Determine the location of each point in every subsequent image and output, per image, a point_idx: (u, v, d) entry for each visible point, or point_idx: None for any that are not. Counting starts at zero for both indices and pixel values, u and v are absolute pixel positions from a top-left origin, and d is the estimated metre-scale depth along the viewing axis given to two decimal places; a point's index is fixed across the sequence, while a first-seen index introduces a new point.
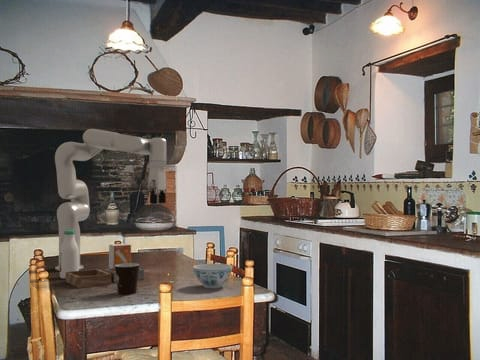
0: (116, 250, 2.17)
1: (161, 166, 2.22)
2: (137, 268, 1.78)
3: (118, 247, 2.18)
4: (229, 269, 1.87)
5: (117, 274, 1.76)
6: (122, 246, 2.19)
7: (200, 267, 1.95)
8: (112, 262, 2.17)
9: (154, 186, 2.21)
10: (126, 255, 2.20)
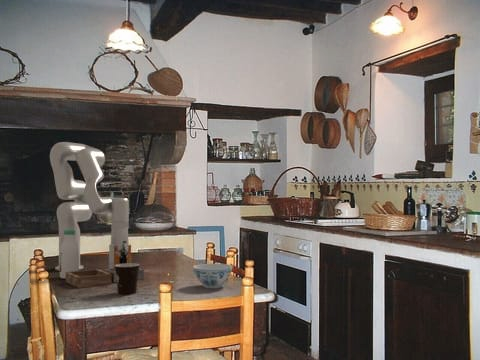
0: (116, 250, 2.17)
1: (128, 226, 2.21)
2: (137, 268, 1.78)
3: None
4: (229, 269, 1.87)
5: (117, 274, 1.76)
6: None
7: (200, 267, 1.95)
8: (112, 262, 2.17)
9: (122, 247, 2.18)
10: None
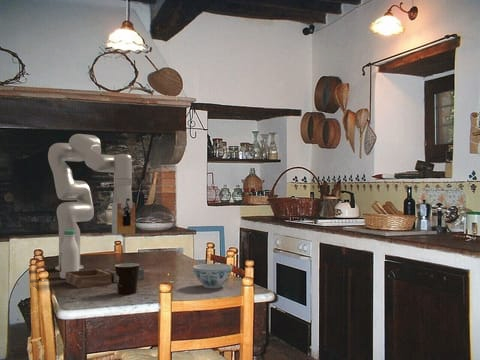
0: (119, 208, 2.08)
1: (131, 184, 2.12)
2: (137, 268, 1.78)
3: None
4: (229, 269, 1.87)
5: (117, 274, 1.76)
6: None
7: (200, 267, 1.95)
8: (116, 221, 2.08)
9: (125, 205, 2.09)
10: None
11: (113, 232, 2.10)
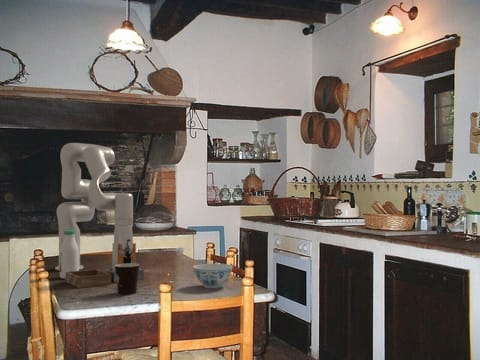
0: None
1: (132, 224, 2.07)
2: (137, 268, 1.78)
3: None
4: (229, 269, 1.87)
5: (117, 274, 1.76)
6: None
7: (200, 267, 1.95)
8: (116, 262, 2.03)
9: (126, 246, 2.05)
10: (131, 254, 2.06)
11: None
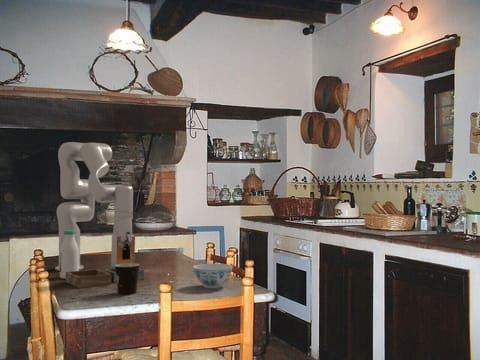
0: (119, 241, 2.04)
1: (132, 216, 2.08)
2: (137, 268, 1.78)
3: None
4: (229, 269, 1.87)
5: (117, 274, 1.76)
6: None
7: (200, 267, 1.95)
8: (115, 254, 2.04)
9: (125, 238, 2.05)
10: None
11: (112, 265, 2.07)
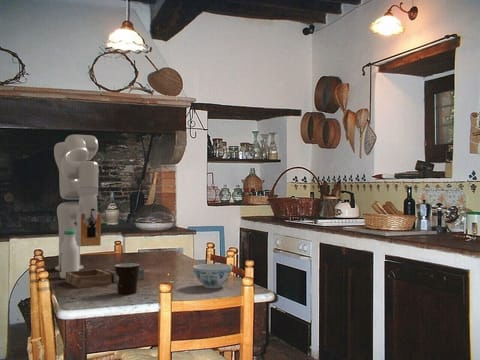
0: None
1: (97, 193, 1.99)
2: (137, 268, 1.78)
3: None
4: (229, 269, 1.87)
5: (117, 274, 1.76)
6: None
7: (200, 267, 1.95)
8: (80, 232, 1.95)
9: (90, 216, 1.96)
10: None
11: (77, 244, 1.98)
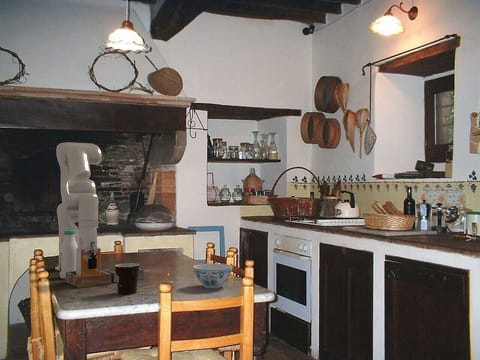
0: (83, 254, 1.95)
1: (97, 226, 1.99)
2: (137, 268, 1.78)
3: None
4: (229, 269, 1.87)
5: (117, 274, 1.76)
6: None
7: (200, 267, 1.95)
8: (79, 267, 1.95)
9: (90, 249, 1.96)
10: None
11: None
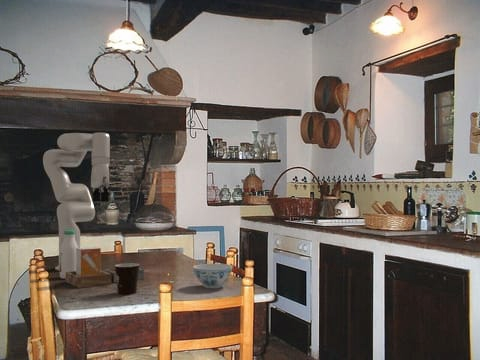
0: (83, 254, 1.95)
1: (109, 163, 2.13)
2: (137, 268, 1.78)
3: (86, 250, 1.95)
4: (229, 269, 1.87)
5: (117, 274, 1.76)
6: (90, 250, 1.96)
7: (200, 267, 1.95)
8: (79, 267, 1.95)
9: (102, 183, 2.11)
10: (95, 259, 1.97)
11: None
